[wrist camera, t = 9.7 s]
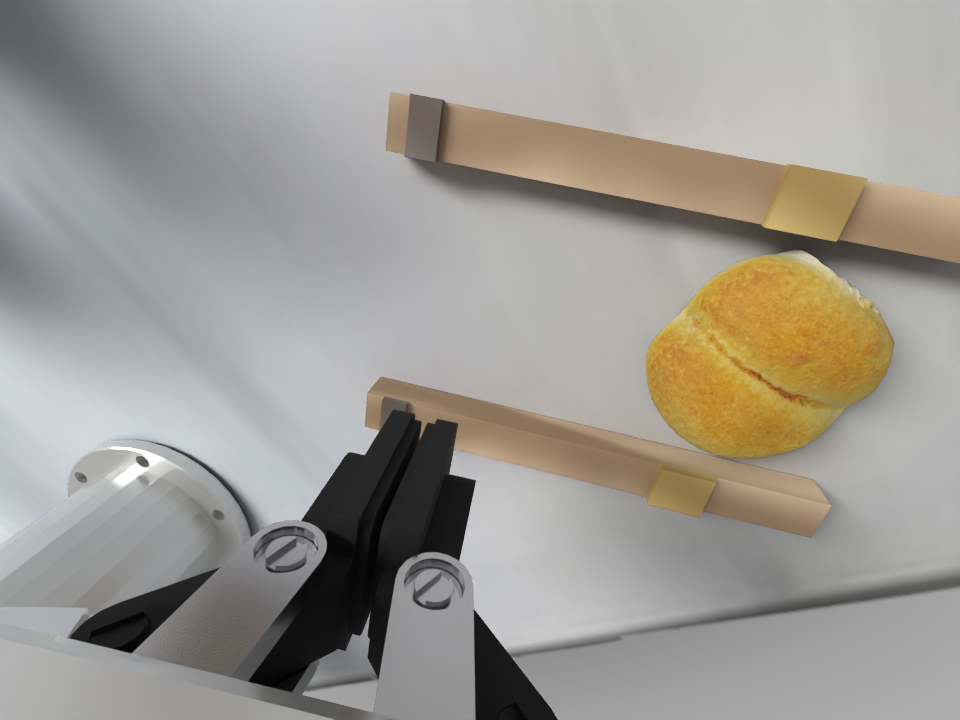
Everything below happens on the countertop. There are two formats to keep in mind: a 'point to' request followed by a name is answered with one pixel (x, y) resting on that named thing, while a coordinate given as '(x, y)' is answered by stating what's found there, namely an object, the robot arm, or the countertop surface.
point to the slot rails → (676, 183)
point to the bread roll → (767, 357)
